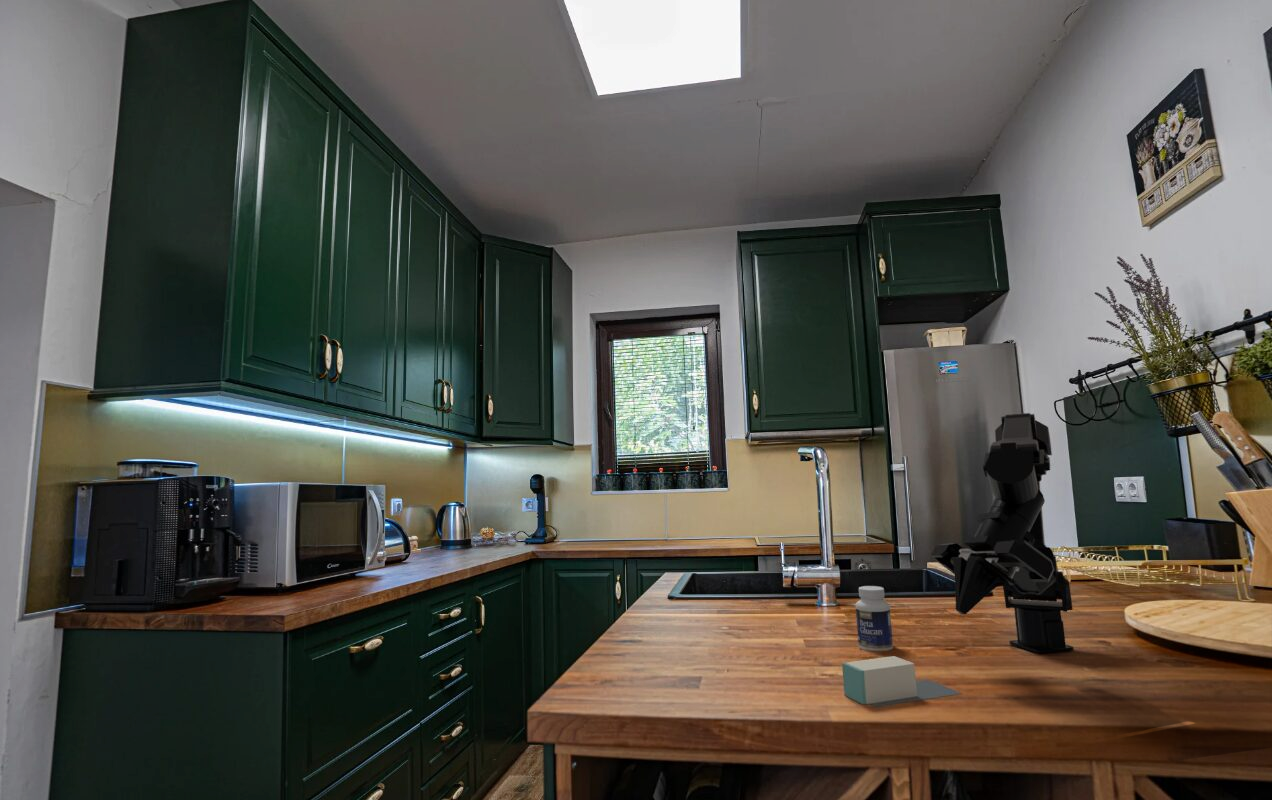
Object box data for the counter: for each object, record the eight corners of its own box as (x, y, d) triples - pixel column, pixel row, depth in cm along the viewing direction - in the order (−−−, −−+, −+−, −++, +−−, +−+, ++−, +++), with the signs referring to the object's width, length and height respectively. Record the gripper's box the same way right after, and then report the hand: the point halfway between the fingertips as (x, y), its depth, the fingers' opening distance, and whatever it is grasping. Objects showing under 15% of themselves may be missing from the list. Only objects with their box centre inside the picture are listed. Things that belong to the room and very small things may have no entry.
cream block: (894, 656, 89) (842, 663, 87) (914, 663, 85) (860, 671, 83) (896, 687, 88) (844, 695, 86) (917, 696, 85) (862, 704, 82)
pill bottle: (857, 651, 107) (852, 590, 109) (859, 643, 112) (855, 584, 114) (893, 653, 105) (887, 591, 107) (893, 645, 110) (888, 585, 112)
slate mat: (927, 681, 91) (926, 679, 91) (962, 695, 85) (962, 693, 85) (844, 693, 88) (844, 691, 88) (875, 709, 81) (875, 706, 81)
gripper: (1110, 551, 85) (1060, 657, 81) (1011, 554, 103) (966, 641, 99) (1038, 499, 86) (985, 602, 81) (952, 511, 103) (905, 596, 99)
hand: (960, 612), depth 90 cm, fingers closed
